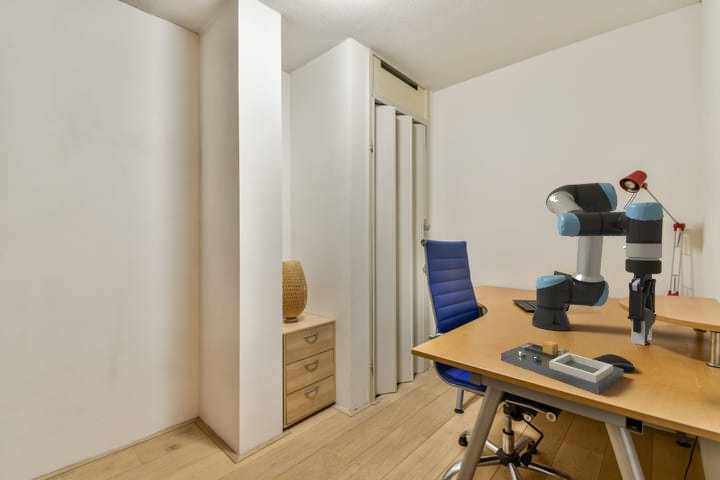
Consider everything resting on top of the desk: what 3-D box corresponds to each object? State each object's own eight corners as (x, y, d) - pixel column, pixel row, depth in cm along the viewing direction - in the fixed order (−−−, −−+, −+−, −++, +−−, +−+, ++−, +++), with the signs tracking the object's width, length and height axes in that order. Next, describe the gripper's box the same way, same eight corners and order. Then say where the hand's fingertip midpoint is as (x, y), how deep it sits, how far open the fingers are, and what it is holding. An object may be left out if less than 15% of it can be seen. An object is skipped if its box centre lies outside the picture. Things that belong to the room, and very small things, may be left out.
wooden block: (548, 350, 109) (548, 340, 109) (558, 353, 106) (558, 343, 106) (542, 353, 107) (542, 342, 107) (552, 356, 104) (552, 345, 104)
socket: (567, 358, 102) (567, 352, 102) (613, 372, 92) (613, 365, 92) (549, 367, 95) (549, 361, 95) (595, 383, 85) (595, 375, 85)
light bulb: (658, 343, 88) (658, 307, 87) (651, 347, 85) (651, 310, 84) (632, 337, 92) (633, 303, 92) (625, 341, 89) (625, 306, 89)
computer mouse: (584, 362, 106) (584, 350, 105) (625, 364, 103) (625, 352, 103) (595, 371, 99) (595, 358, 99) (640, 374, 96) (640, 361, 96)
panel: (529, 349, 117) (529, 337, 117) (623, 377, 94) (623, 362, 94) (501, 360, 107) (501, 347, 107) (598, 394, 84) (598, 378, 84)
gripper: (637, 255, 96) (635, 331, 97) (613, 259, 86) (612, 344, 86) (671, 257, 89) (669, 338, 90) (650, 262, 79) (648, 353, 80)
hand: (641, 341), depth 88 cm, fingers closed on light bulb, 5 cm apart
